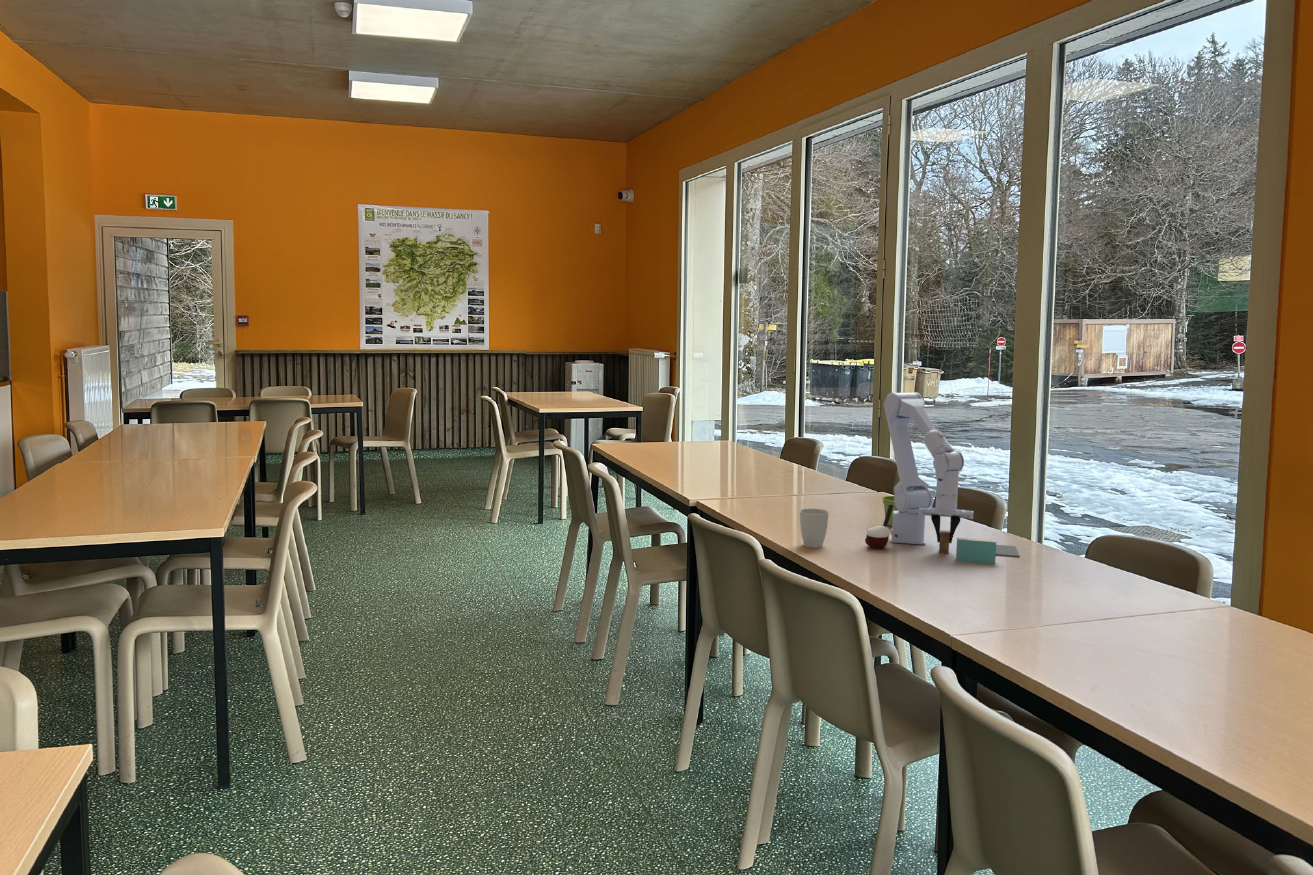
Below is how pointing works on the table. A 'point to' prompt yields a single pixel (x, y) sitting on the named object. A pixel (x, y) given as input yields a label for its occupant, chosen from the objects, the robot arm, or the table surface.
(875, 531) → the cocoa
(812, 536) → the cup
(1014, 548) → the mat
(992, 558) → the tile
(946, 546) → the stick
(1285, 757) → the table surface
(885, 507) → the plant pot
